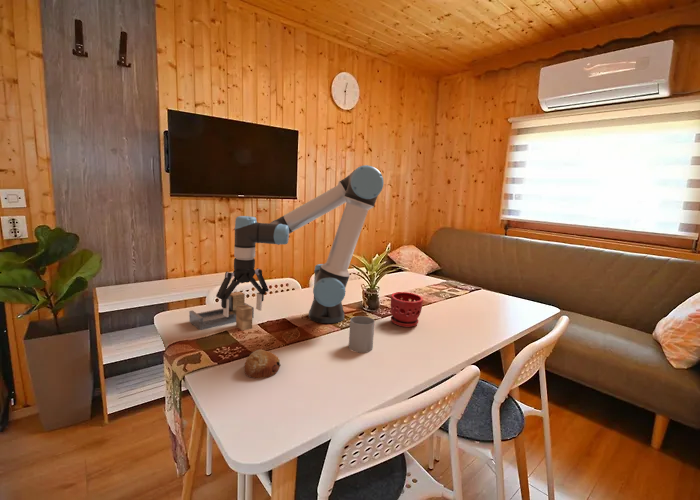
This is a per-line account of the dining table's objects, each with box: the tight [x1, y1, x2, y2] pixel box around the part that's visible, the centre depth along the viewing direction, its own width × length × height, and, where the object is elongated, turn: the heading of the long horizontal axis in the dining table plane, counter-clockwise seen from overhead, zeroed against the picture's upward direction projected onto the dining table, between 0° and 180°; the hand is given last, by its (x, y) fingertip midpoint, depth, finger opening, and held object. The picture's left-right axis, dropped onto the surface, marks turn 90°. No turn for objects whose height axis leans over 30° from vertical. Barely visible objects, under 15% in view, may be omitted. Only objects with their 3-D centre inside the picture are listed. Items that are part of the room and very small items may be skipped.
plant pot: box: [390, 291, 424, 328], centre depth 152 cm, size 13×13×12 cm
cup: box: [348, 315, 375, 354], centre depth 126 cm, size 8×8×10 cm
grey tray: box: [188, 291, 254, 331], centre depth 144 cm, size 10×22×10 cm, turn 134°
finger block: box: [235, 305, 253, 332], centre depth 138 cm, size 4×6×8 cm
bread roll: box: [243, 349, 281, 379], centre depth 107 cm, size 10×10×8 cm
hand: (242, 312), depth 138 cm, fingers open, 13 cm apart
